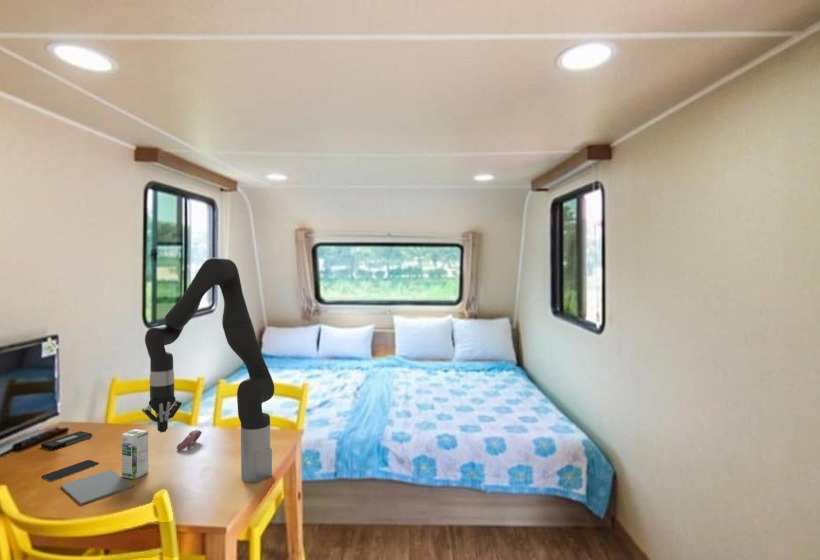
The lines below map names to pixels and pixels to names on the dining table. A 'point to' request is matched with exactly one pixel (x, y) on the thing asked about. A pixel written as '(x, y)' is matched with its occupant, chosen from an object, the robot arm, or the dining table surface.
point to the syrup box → (134, 453)
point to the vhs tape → (66, 440)
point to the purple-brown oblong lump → (189, 440)
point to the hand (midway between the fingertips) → (162, 431)
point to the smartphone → (69, 470)
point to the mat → (96, 486)
